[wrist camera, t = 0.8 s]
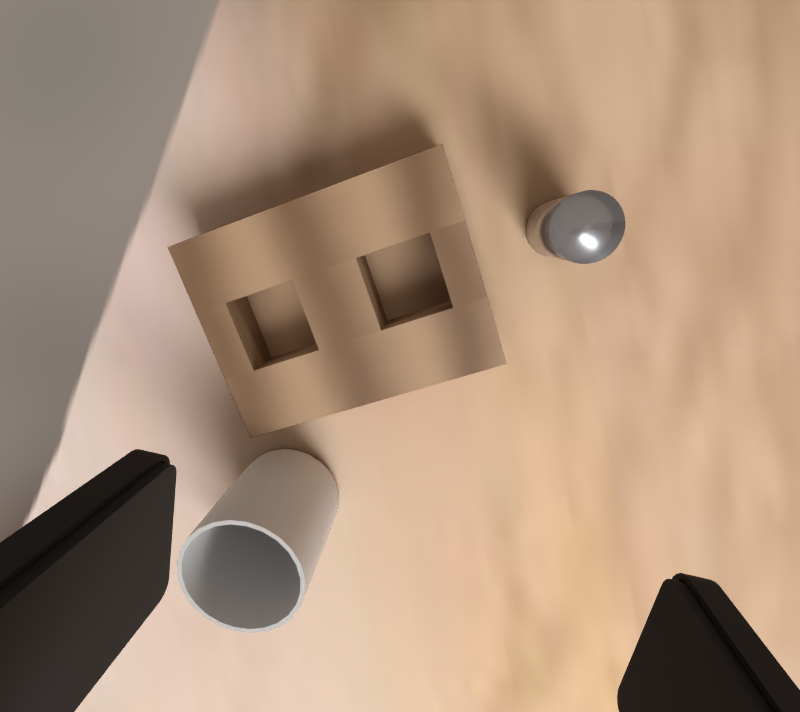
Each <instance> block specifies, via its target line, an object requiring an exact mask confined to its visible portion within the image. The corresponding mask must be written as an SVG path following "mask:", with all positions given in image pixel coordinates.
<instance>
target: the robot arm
mask: <svg viewBox="0 0 800 712" xmlns="http://www.w3.org/2000/svg"><path fill="white" fill-rule="evenodd" d="M175 486H176V468H175V466H174V465H170V461H169V458H168V457H167V456H166V455H161V454H157V453H153V452H148V451H144V450H139V449H135V450H133V451H131V452H130V453H128V454H127V455H126V456H124V457H123V458H121V459H120V460H118V461H117V462H115V463H114V464H113V465H111V466H110V467H108V468H107V469H105V470H104V471H103V472H101V473H100V474H98V475H97V476H95V477H94V478H92V479H91V480H90V481H88V482H87V483H85V484H84V485H82V486H81V487H80V488H78V489H77V490H75V491H74V492H72V493H71V494H69V495H68V496H67V497H65V498H64V499H62V500H61V501H59V502H58V503H57V504H55V505H54V506H52V507H51V508H49V509H48V510H47V511H45V512H44V513H42V514H41V515H39V516H38V517H36V518H35V519H34V520H32V521H31V522H29V523H28V524H26V525H25V526H24V527H22V528H21V529H19V530H18V531H16V532H15V533H13V534H12V535H11V536H9V537H8V538H6V539H5V540H3V541H2V542H1V543H0V712H74V711H75V710H76V709H77V707H78V706H79V705H80V703H81V702H82V701H83V700H84V698H85V697H86V696H87V694H88V693H89V692H90V691H91V689H92V688H93V687H94V685H95V684H96V683H97V682H98V680H99V679H100V678H101V676H102V675H103V674H104V673H105V671H106V670H107V669H108V667H109V666H110V665H111V664H112V662H113V661H114V660H115V658H116V657H117V656H118V655H119V653H120V652H121V651H122V649H123V648H124V647H125V646H126V644H127V643H128V642H129V640H130V639H131V638H132V637H133V635H134V634H135V633H136V631H137V630H138V629H139V628H140V626H141V625H142V624H143V622H144V621H145V620H146V618H147V617H148V616H149V615H150V613H151V612H152V611H153V609H154V608H155V607H156V606H157V604H158V603H159V602H160V600H161V599H162V597H163V595H164V593H165V591H166V588H167V585H168V581H169V569H170V555H171V541H172V528H173V514H174V500H175ZM617 700H618V709H619V712H800V690H799V689H798V687H797V686H796V685H795V683H794V682H793V681H792V680H791V678H790V677H789V676H788V674H787V673H786V672H785V670H784V669H783V668H782V667H781V665H780V664H779V663H778V661H777V660H776V659H775V657H774V656H773V655H772V654H771V652H770V651H769V650H768V648H767V647H766V646H765V645H764V643H763V642H762V641H761V639H760V638H759V637H758V635H757V634H756V633H755V632H754V630H753V629H752V628H751V626H750V625H749V624H748V622H747V621H746V620H745V619H744V617H743V616H742V615H741V613H740V612H739V611H738V609H737V608H736V607H735V606H734V604H733V603H732V602H731V600H730V599H729V598H728V596H727V595H726V594H725V593H724V591H723V590H722V589H721V587H720V586H719V585H718V584H717V583H716V582H714V581H712V580H709V579H705V578H700V577H696V576H691V575H687V574H683V573H679V574H676V575H675V576H673V578H672V579H666V580H665V581H664V582H663V584H662V586H661V588H660V590H659V593H658V595H657V598H656V600H655V602H654V605H653V607H652V609H651V612H650V614H649V617H648V619H647V621H646V624H645V626H644V629H643V631H642V633H641V636H640V638H639V641H638V643H637V645H636V648H635V650H634V653H633V655H632V657H631V660H630V662H629V665H628V667H627V669H626V672H625V674H624V676H623V679H622V681H621V684H620V686H619V689H618V696H617Z"/></svg>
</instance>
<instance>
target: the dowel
mask: <svg viewBox="0 0 800 712" xmlns="http://www.w3.org/2000/svg"><path fill="white" fill-rule="evenodd" d="M624 230H625V217H624V213H623V210H622V208H621V206H620V205H619V203H618V202H617V201H616V200H615V199H614V198H613V197H612V196H610V195H609V194H607V193H604V192H601V191H596V190H588V191H583V192H579V193H576V194H572V195H569V196H565V197H562V198H559V199H555V200H552V201H548V202H546V203H543V204H541V205H540V206H538V207H537V208H536V209H535V210H534V211H533V212H532V214H531V215H530V217H529V219H528V222H527V225H526V236H527V239H528V242H529V244H530V245H531V247H532V248H533V249H534V250H535V251H536V252H538V253H540V254H542V255H545V256H549V257H554V258H558V259H562V260H567V261H571V262H575V263H581V264H589V263H594V262H597V261H600V260H602V259H604V258H606V257H607V256H609V255H610V254H611V253H612V252H613V251H614V250H615V249H616V248H617V246H618V245H619V243H620V241H621V240H622V237H623V234H624Z"/></svg>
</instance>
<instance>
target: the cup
mask: <svg viewBox="0 0 800 712" xmlns="http://www.w3.org/2000/svg"><path fill="white" fill-rule="evenodd" d="M338 501H339V493H338V489H337V485H336V482H335V480H334V478H333V476H332V475H331V473H330V471H329V470H328V469H327V468H326V467H325V466H324V465H323V464H322V463H321V462H320V461H319V460H317V459H315V458H314V457H312V456H311V455H309V454H306V453H303V452H301V451H298V450H290V449H279V450H273V451H269V452H267V453H265V454H263V455H260V456H259V457H258V458H257V459H256V460H254V461H253V462H252V463H251V464H250V465H249V466H248V467H247V468H246V469H245V470H244V471H243V473H242V474H241V475H240V476H239V477H238V479H237V480H236V481H235V482H234V483H233V484H232V486H231V487H230V488H229V489H228V490H227V492H226V493H225V494H224V495H223V496H222V498H221V499H220V500H219V501H218V502H217V503H216V505H215V506H214V507H213V508H212V509H211V511H210V512H209V513H208V514H207V515H206V517H205V518H204V519H203V520H202V521H201V523H200V524H199V525H198V526H197V527H196V528H195V530H194V531H193V532H192V533H191V534H190V536H189V537H188V538H187V540H186V541H185V543H184V544H183V546H182V548H181V549H180V552H179V557H178V561H177V572H178V580H179V582H180V585H181V588H182V590H183V593H184V594H185V596H186V597H187V599H188V600H189V602H190V603H191V605H192V606H193V607H194V608H195V609H196V610H197V611H199V612H200V613H201V614H202V615H203V616H204V617H206V618H207V619H209V620H210V621H212V622H214V623H215V624H217V625H219V626H222V627H225V628H228V629H230V630H233V631H240V632H247V633H255V632H265V631H269V630H271V629H274V628H277V627H280V626H281V625H283V624H284V623H286V622H287V621H288V620H290V619H291V618H292V617H293V616H294V615H295V613H296V612H297V611H298V609H299V608H300V607H301V604H302V601H303V599H304V596H305V594H306V591H307V588H308V586H309V583H310V581H311V578H312V576H313V573H314V570H315V568H316V565H317V563H318V560H319V557H320V555H321V552H322V550H323V547H324V544H325V542H326V539H327V537H328V534H329V531H330V529H331V526H332V524H333V521H334V518H335V515H336V512H337V508H338Z"/></svg>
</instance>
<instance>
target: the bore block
mask: <svg viewBox="0 0 800 712" xmlns="http://www.w3.org/2000/svg"><path fill="white" fill-rule="evenodd" d="M168 249H169V251H170V254H171V256H172V258H173V261H174V263H175V265H176V267H177V270H178V272H179V274H180V277H181V279H182V281H183V284H184V286H185V288H186V290H187V293H188V295H189V297H190V300H191V302H192V304H193V307H194V309H195V311H196V314H197V316H198V318H199V320H200V323H201V325H202V327H203V330H204V332H205V334H206V337H207V339H208V341H209V343H210V346H211V348H212V350H213V353H214V355H215V357H216V360H217V362H218V364H219V366H220V369H221V371H222V373H223V376H224V378H225V380H226V383H227V385H228V387H229V389H230V392H231V394H232V396H233V399H234V401H235V403H236V406H237V408H238V410H239V413H240V415H241V417H242V419H243V422H244V424H245V426H246V429H247V431H248V433H249V436H250V438H252V437H255V436H258V435H262V434H265V433H269V432H272V431H276V430H279V429H283V428H286V427H290V426H293V425H297V424H300V423H303V422H307V421H310V420H314V419H317V418H321V417H324V416H328V415H331V414H335V413H338V412H341V411H345V410H348V409H352V408H355V407H359V406H362V405H366V404H369V403H373V402H376V401H380V400H383V399H386V398H390V397H393V396H397V395H400V394H404V393H407V392H411V391H414V390H418V389H421V388H425V387H428V386H431V385H435V384H438V383H442V382H445V381H449V380H452V379H456V378H459V377H463V376H466V375H470V374H473V373H476V372H480V371H483V370H487V369H490V368H494V367H497V366H501V365H504V364H507V363H506V360H505V356H504V353H503V349H502V346H501V343H500V339H499V336H498V332H497V329H496V326H495V322H494V319H493V315H492V312H491V308H490V305H489V302H488V298H487V295H486V291H485V288H484V284H483V281H482V278H481V274H480V271H479V267H478V264H477V261H476V257H475V254H474V250H473V247H472V243H471V240H470V237H469V233H468V230H467V226H466V223H465V219H464V216H463V213H462V209H461V206H460V202H459V199H458V196H457V192H456V189H455V185H454V182H453V178H452V175H451V172H450V168H449V165H448V161H447V158H446V155H445V151H444V148H443V144H441V145H438V146H435V147H433V148H430V149H427V150H425V151H422V152H419V153H417V154H414V155H411V156H409V157H406V158H404V159H401V160H398V161H396V162H393V163H390V164H388V165H385V166H382V167H380V168H377V169H374V170H372V171H369V172H366V173H364V174H361V175H358V176H356V177H353V178H350V179H348V180H345V181H342V182H340V183H337V184H334V185H332V186H329V187H326V188H324V189H321V190H318V191H316V192H313V193H310V194H308V195H305V196H302V197H300V198H297V199H295V200H292V201H289V202H287V203H284V204H281V205H279V206H276V207H273V208H271V209H268V210H265V211H263V212H260V213H257V214H255V215H252V216H249V217H247V218H244V219H241V220H239V221H236V222H233V223H231V224H228V225H225V226H223V227H220V228H217V229H215V230H212V231H209V232H207V233H204V234H201V235H199V236H196V237H193V238H191V239H188V240H186V241H183V242H180V243H178V244H175V245H172V246H170V247H168Z"/></svg>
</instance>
